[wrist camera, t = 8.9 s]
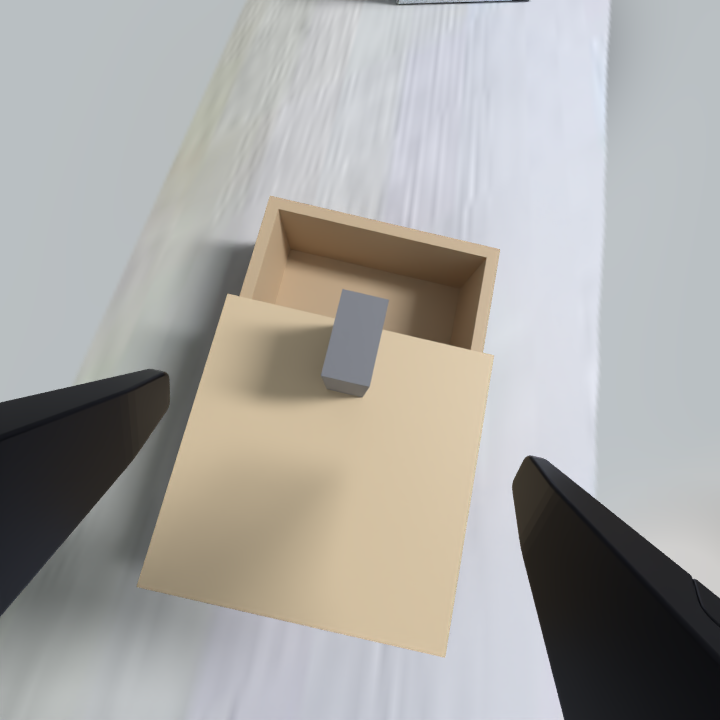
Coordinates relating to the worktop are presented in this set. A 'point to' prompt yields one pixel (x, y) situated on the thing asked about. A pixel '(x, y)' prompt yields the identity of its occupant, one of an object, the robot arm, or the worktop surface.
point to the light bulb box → (439, 1)
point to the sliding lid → (325, 474)
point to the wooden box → (373, 271)
